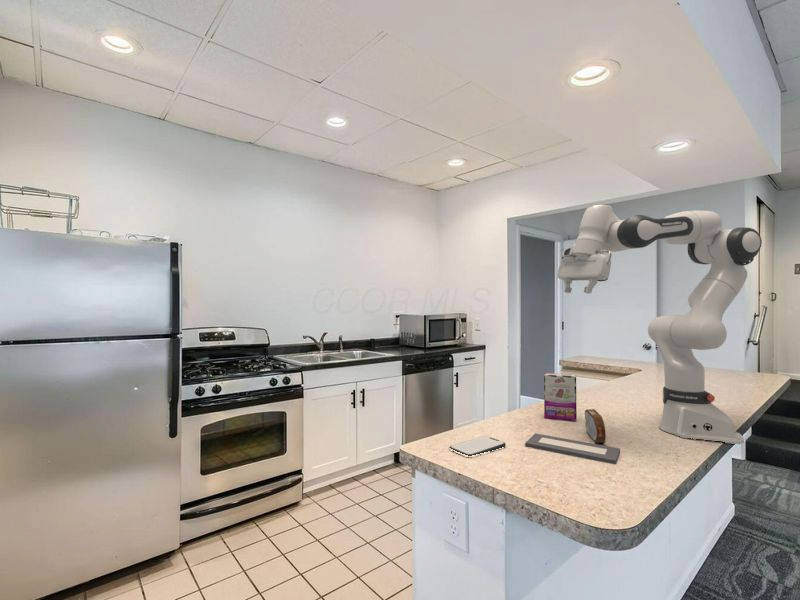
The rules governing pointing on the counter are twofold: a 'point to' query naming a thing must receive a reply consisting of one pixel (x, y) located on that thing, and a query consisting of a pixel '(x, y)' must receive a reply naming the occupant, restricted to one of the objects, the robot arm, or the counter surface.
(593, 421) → the tin
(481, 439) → the phone case
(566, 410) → the candy bar box
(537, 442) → the dark gray picture frame
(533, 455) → the counter surface
